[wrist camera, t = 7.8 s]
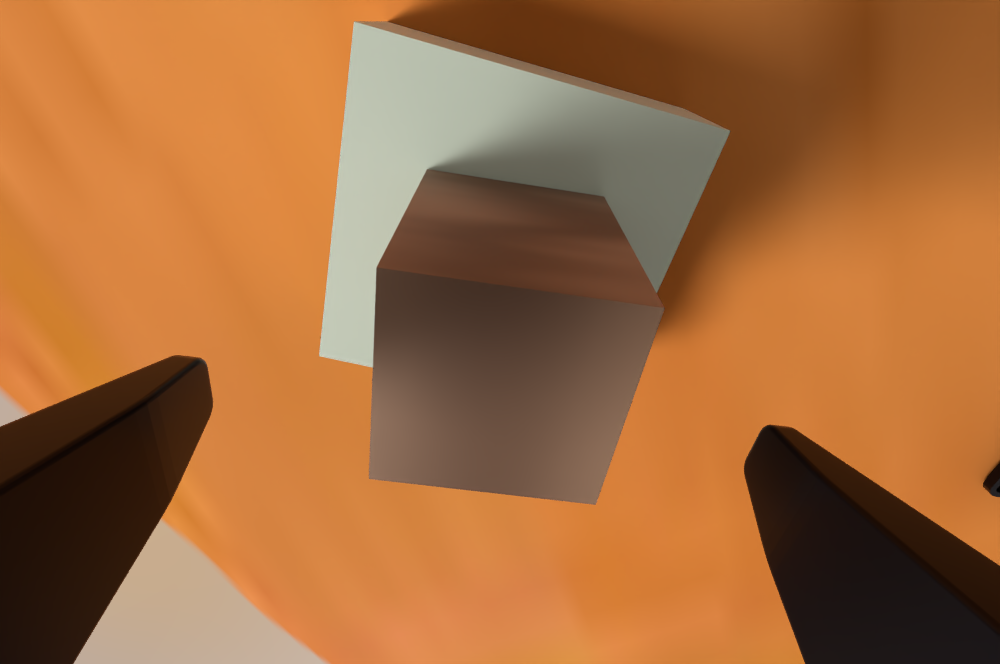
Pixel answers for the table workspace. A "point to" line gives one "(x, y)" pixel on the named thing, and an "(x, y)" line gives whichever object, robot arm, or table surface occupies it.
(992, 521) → the table surface
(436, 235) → the walnut block
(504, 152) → the sage base block
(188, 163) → the table surface
